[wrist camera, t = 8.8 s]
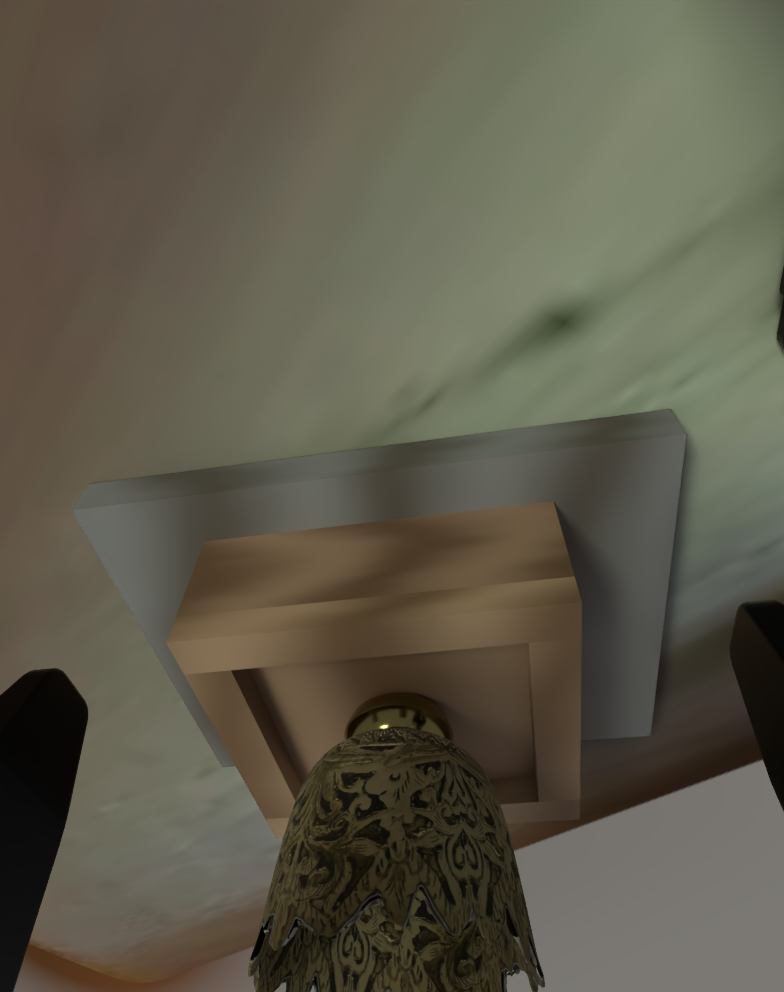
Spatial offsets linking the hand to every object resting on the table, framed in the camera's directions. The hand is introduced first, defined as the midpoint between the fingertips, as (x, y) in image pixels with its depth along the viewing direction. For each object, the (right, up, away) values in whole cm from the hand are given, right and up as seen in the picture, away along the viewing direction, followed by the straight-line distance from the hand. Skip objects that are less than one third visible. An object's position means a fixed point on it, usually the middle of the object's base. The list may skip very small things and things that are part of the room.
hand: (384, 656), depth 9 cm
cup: (0, -5, +15) cm, 15 cm away
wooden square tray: (0, -3, +18) cm, 18 cm away
